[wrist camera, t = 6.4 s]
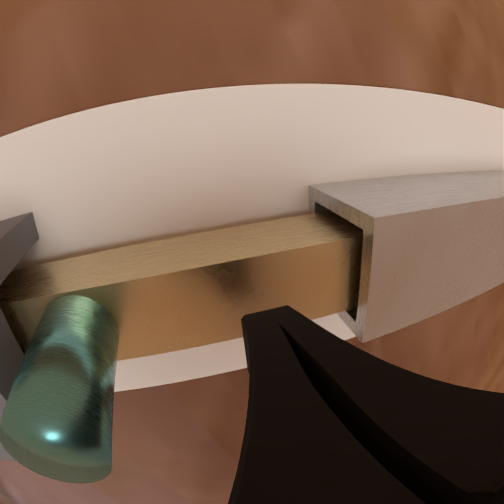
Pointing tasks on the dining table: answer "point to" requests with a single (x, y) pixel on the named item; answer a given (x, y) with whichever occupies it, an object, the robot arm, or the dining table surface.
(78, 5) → the dining table surface
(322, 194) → the steel sleeve
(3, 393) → the charcoal socket
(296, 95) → the base board
